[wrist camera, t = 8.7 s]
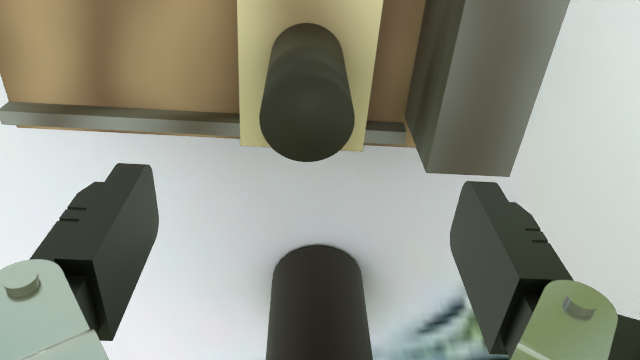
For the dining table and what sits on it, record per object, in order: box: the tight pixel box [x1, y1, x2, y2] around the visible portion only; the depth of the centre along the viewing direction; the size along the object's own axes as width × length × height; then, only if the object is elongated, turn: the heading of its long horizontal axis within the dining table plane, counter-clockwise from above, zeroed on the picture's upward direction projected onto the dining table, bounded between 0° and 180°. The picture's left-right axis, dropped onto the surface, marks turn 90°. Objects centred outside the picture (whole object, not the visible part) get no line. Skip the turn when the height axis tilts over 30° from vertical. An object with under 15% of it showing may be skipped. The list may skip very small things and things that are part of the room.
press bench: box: [0, 0, 570, 177], centre depth 23 cm, size 28×13×8 cm, turn 86°
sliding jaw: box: [237, 0, 383, 162], centre depth 20 cm, size 6×9×10 cm, turn 176°
